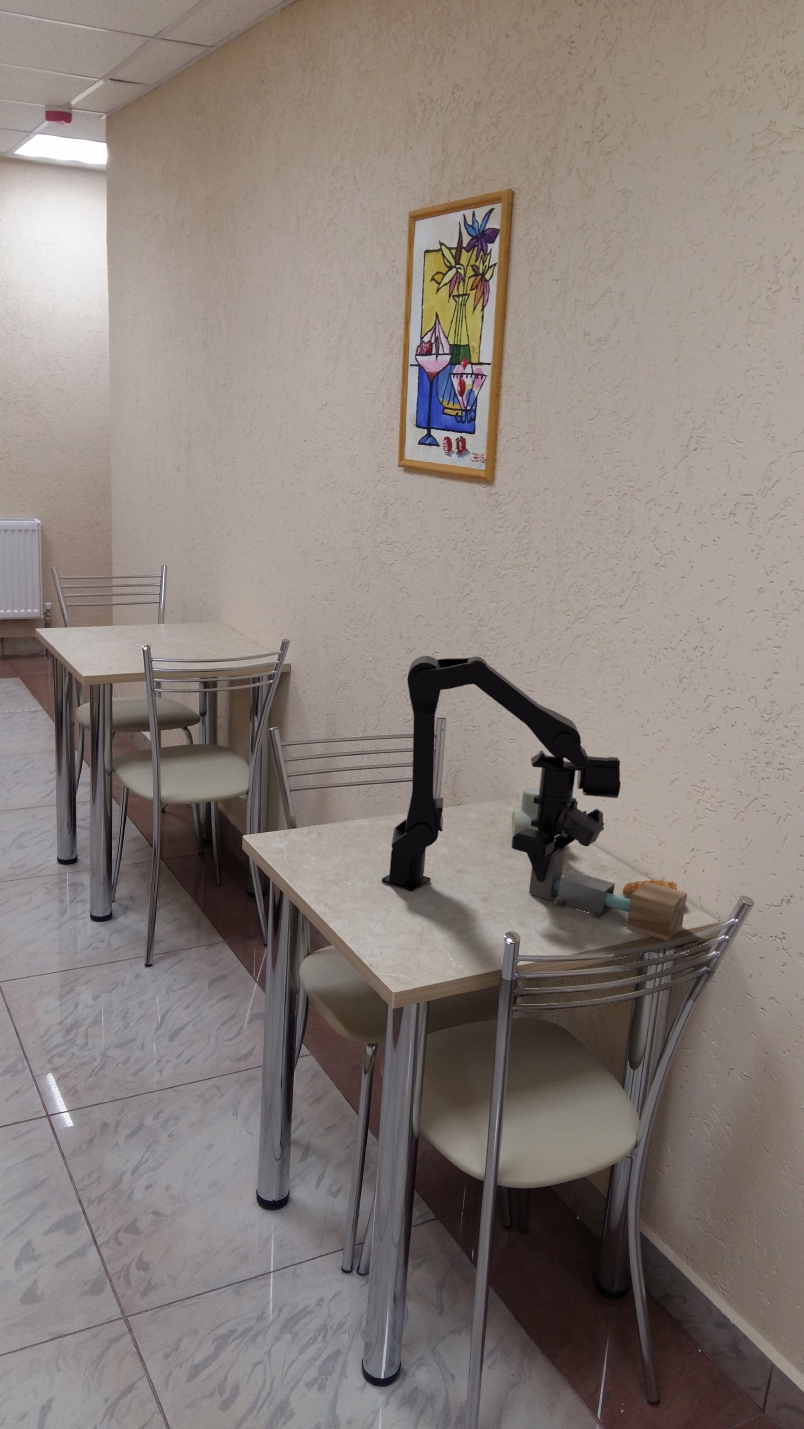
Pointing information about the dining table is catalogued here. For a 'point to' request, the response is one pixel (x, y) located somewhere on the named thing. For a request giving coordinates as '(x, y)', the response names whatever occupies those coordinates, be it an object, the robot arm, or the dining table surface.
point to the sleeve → (584, 893)
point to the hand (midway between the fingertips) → (546, 877)
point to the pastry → (634, 886)
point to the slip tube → (553, 881)
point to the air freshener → (525, 811)
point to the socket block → (656, 910)
